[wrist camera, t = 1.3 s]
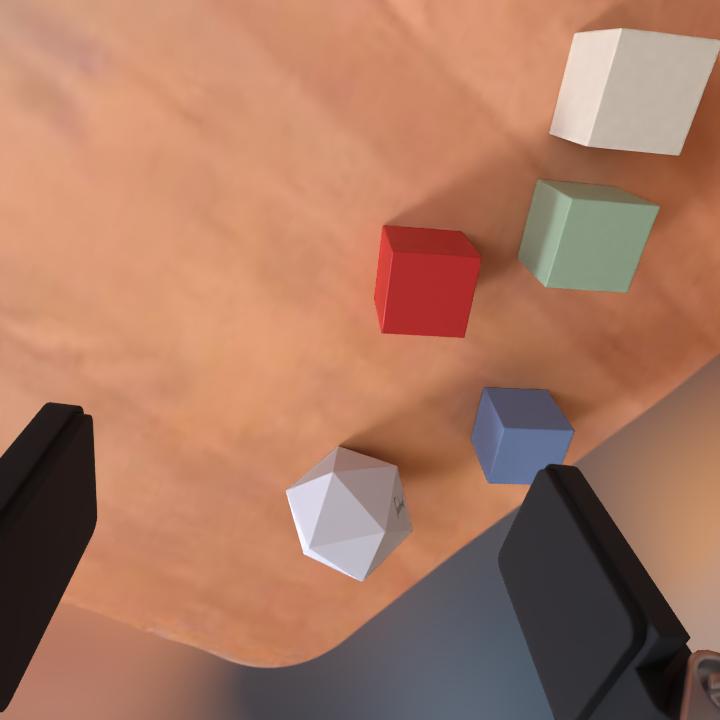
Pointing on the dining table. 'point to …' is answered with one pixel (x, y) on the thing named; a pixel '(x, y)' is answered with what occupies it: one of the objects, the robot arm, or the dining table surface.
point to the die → (350, 512)
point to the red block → (425, 281)
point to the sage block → (585, 235)
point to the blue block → (519, 434)
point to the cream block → (633, 89)
